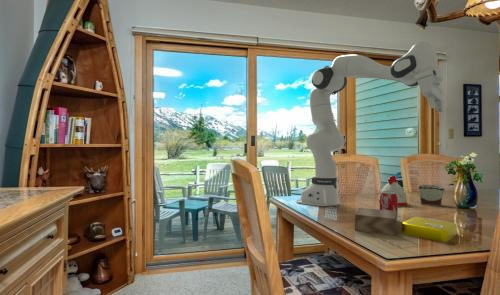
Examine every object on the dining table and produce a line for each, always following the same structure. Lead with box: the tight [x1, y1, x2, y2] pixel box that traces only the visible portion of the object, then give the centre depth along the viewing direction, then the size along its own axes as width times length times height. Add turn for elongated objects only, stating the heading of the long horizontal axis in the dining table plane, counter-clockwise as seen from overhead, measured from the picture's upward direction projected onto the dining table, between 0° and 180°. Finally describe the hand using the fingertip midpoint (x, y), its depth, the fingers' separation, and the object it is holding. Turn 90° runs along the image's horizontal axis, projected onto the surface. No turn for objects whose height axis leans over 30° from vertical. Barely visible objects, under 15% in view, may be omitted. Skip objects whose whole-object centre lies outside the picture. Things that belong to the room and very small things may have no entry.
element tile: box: [401, 216, 457, 243], centre depth 117 cm, size 15×15×5 cm
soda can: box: [379, 191, 399, 221], centre depth 136 cm, size 7×7×12 cm
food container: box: [417, 184, 445, 207], centre depth 172 cm, size 12×6×10 cm, turn 56°
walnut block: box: [354, 207, 397, 236], centre depth 123 cm, size 14×14×6 cm
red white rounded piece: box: [378, 175, 408, 207], centre depth 174 cm, size 14×14×15 cm
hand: (436, 110), depth 128 cm, fingers open, 8 cm apart
